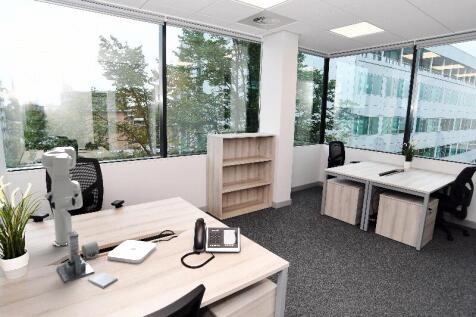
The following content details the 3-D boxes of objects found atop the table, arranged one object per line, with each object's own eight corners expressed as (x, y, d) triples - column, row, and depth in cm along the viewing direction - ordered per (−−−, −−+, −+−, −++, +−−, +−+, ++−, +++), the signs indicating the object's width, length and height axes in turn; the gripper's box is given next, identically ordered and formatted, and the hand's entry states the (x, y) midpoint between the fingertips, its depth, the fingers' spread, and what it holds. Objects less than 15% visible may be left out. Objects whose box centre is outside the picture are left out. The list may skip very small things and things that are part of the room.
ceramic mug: (81, 254, 169) (80, 242, 168) (95, 250, 175) (95, 238, 173) (86, 261, 161) (85, 249, 160) (101, 257, 167) (100, 245, 166)
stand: (56, 268, 153) (54, 248, 151) (84, 260, 163) (83, 240, 161) (64, 283, 140) (62, 261, 139) (94, 272, 150) (93, 252, 148)
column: (68, 259, 151) (66, 233, 149) (77, 256, 154) (75, 231, 152) (71, 263, 147) (69, 236, 145) (80, 260, 150) (78, 234, 148)
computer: (139, 264, 160) (138, 260, 160) (105, 259, 165) (105, 255, 164) (157, 247, 182) (157, 243, 181) (127, 243, 186) (127, 239, 185)
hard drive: (117, 278, 144) (102, 271, 150) (103, 286, 137) (87, 278, 143) (117, 281, 144) (102, 274, 150) (103, 289, 137) (88, 281, 143)
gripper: (77, 174, 164) (78, 202, 167) (41, 178, 152) (44, 208, 155) (80, 176, 159) (82, 205, 161) (44, 181, 147) (47, 212, 149)
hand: (63, 206), depth 158 cm, fingers open, 9 cm apart
